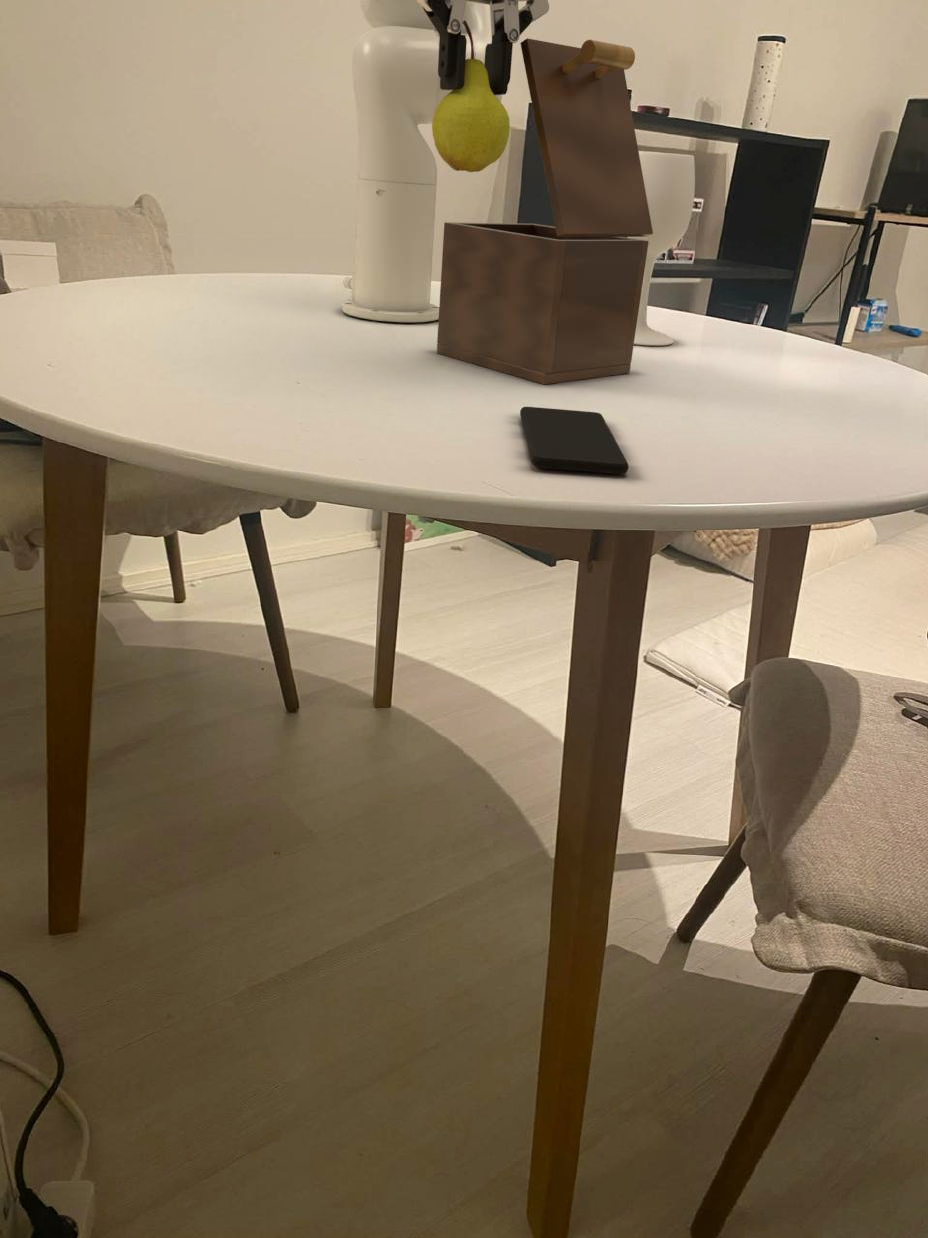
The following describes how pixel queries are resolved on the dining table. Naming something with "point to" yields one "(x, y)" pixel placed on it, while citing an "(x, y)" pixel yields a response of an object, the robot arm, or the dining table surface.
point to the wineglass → (663, 221)
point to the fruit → (471, 121)
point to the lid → (587, 138)
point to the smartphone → (571, 441)
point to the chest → (539, 300)
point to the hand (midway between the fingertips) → (473, 89)
